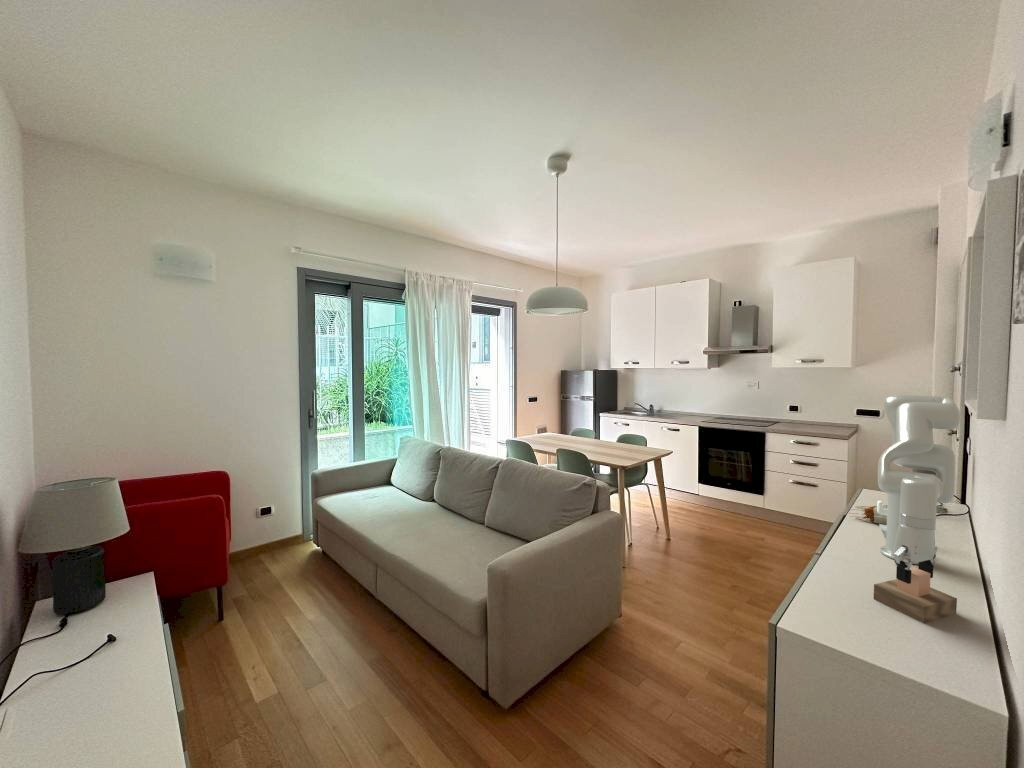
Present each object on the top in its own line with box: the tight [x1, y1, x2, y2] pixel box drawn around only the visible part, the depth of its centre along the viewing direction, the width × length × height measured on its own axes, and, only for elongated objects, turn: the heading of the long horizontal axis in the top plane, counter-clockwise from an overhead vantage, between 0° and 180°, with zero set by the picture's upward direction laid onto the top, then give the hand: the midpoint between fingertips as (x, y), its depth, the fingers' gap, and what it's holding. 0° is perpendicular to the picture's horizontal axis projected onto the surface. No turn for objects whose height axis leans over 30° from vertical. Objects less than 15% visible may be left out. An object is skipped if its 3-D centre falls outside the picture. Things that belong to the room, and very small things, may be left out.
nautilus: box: [848, 504, 887, 525], centre depth 181 cm, size 8×22×15 cm
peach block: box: [897, 565, 931, 597], centre depth 119 cm, size 5×5×6 cm
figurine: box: [876, 500, 887, 539], centre depth 164 cm, size 7×9×15 cm
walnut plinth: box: [873, 578, 958, 624], centre depth 119 cm, size 14×12×5 cm
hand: (914, 578), depth 118 cm, fingers open, 9 cm apart
